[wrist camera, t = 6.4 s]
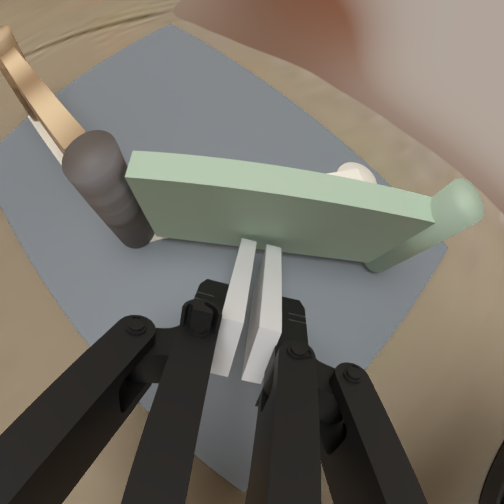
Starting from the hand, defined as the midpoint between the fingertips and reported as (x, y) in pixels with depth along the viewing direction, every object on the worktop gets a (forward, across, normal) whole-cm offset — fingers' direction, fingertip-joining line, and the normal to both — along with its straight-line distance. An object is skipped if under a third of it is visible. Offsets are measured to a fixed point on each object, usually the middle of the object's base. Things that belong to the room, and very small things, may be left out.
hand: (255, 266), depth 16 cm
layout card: (+5, -5, +1) cm, 7 cm away
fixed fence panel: (+5, -14, +2) cm, 15 cm away
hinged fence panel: (+3, +1, 0) cm, 3 cm away
